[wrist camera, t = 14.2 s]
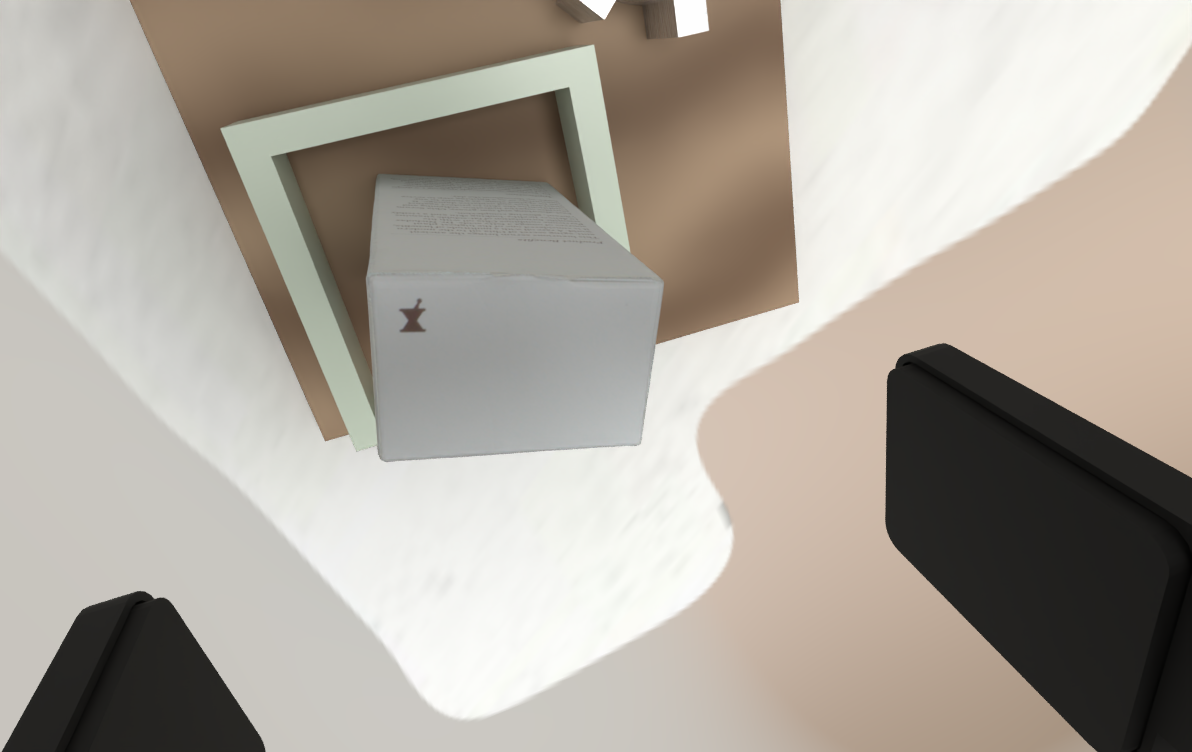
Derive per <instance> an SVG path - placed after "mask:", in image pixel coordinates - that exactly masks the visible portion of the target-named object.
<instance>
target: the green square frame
mask: <svg viewBox="0 0 1192 752" xmlns="http://www.w3.org/2000/svg"><path fill="white" fill-rule="evenodd" d="M550 91H555V96H556V101H557V105H558V110H559V115H560V120H561V125H562V130H563V135H564V140H565V144H566V149H567V154H568V159H569V164H570V169H571V174H572V179H573V183H574V188H575V193H576V198H577V203H578V208H579V210H581V211H582V212H583V213H584V214H585V215H586V216H587V217H589V218H590V219H591V220H593V221H594V222H595V223H596V224H597V225H598V226H599V227H601V228H602V229H603V230H604V231H605V232H606V233H607V234H609V235H610V236H611V237H612V238H613V239H615V240H616V241H617V242H618V243H620V244H621V245H622V246H623V247H624V248H625V249H626V250H628V251H629V252H630V247H629V241H628V235H627V230H626V224H625V218H624V212H623V207H622V201H621V195H620V190H619V184H618V178H617V173H616V167H615V161H614V156H613V150H612V144H611V138H610V133H609V127H608V121H607V116H606V110H605V104H604V99H603V93H602V87H601V82H600V76H599V70H598V64H597V59H596V53H595V47H594V45H576V46H571V47H566V48H562V49H558V50H553V51H549V52H544V53H540V54H535V55H531V56H526V57H522V58H517V59H513V60H508V61H504V62H500V63H495V64H491V65H486V66H482V67H477V68H473V69H468V70H464V71H459V72H455V73H451V74H446V75H442V76H437V77H433V78H428V79H424V80H419V81H415V82H410V83H406V84H401V85H397V86H393V87H388V88H384V89H379V90H375V91H370V92H366V93H361V94H357V95H352V96H348V97H343V98H339V99H335V100H330V101H326V102H321V103H317V104H312V105H308V106H303V107H299V108H294V109H290V110H285V111H281V112H277V113H272V114H268V115H263V116H259V117H254V118H250V119H245V120H241V121H237V122H235V123H232V124H230V125H228V126H225V127H223V128H220V129H221V132H222V134H223V136H224V139H225V141H226V143H227V146H228V148H229V151H230V153H231V155H232V158H233V160H234V162H235V165H236V167H237V169H238V172H239V174H240V177H241V179H242V181H243V184H244V186H245V188H246V191H247V193H248V196H249V198H250V200H251V203H252V205H253V207H254V210H255V212H256V215H257V217H258V219H259V222H260V224H261V226H262V229H263V231H264V233H265V236H266V238H267V241H268V243H269V245H270V248H271V250H272V252H273V255H274V257H275V260H276V262H277V264H278V267H279V269H280V271H281V274H282V276H283V279H284V281H285V283H286V286H287V288H288V290H289V293H290V295H291V297H292V300H293V302H294V305H295V307H296V309H297V312H298V314H299V316H300V319H301V321H302V324H303V326H304V328H305V331H306V333H307V335H308V338H309V340H310V343H311V345H312V347H313V350H314V352H315V354H316V357H317V359H318V362H319V364H320V366H321V369H322V371H323V373H324V376H325V378H326V380H327V383H328V385H329V388H330V390H331V392H332V395H333V397H334V399H335V402H336V404H337V407H338V409H339V411H340V414H341V416H342V418H343V421H344V423H345V426H346V428H347V430H348V433H349V435H350V437H351V440H352V442H353V444H354V447H355V449H356V452H357V451H360V450H364V449H367V448H370V447H374V446H377V433H376V418H375V403H374V388H373V377H372V375H371V372H370V369H369V367H368V364H367V362H366V359H365V357H364V354H363V351H362V349H361V346H360V344H359V341H358V338H357V336H356V333H355V331H354V328H353V325H352V323H351V320H350V318H349V315H348V312H347V310H346V307H345V305H344V302H343V300H342V297H341V294H340V292H339V289H338V287H337V284H336V281H335V279H334V276H333V274H332V271H331V268H330V266H329V263H328V261H327V258H326V256H325V253H324V250H323V248H322V245H321V243H320V240H319V237H318V235H317V232H316V230H315V227H314V224H313V222H312V219H311V217H310V214H309V211H308V209H307V206H306V204H305V201H304V199H303V196H302V193H301V191H300V188H299V186H298V183H297V180H296V178H295V175H294V173H293V170H292V167H291V165H290V162H289V160H288V157H287V155H286V153H288V152H292V151H296V150H301V149H305V148H309V147H313V146H318V145H322V144H326V143H331V142H335V141H339V140H344V139H348V138H352V137H356V136H361V135H365V134H369V133H374V132H378V131H382V130H387V129H391V128H395V127H399V126H404V125H408V124H412V123H417V122H421V121H425V120H429V119H434V118H438V117H442V116H447V115H451V114H455V113H460V112H464V111H468V110H472V109H477V108H481V107H485V106H490V105H494V104H498V103H503V102H507V101H511V100H515V99H520V98H524V97H528V96H533V95H537V94H541V93H545V92H550ZM630 253H631V252H630Z"/></svg>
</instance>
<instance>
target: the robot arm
mask: <svg viewBox="0 0 1192 752" xmlns="http://www.w3.org/2000/svg"><path fill="white" fill-rule="evenodd" d="M886 434H887V435H886V515H885V516H886V517H885V520H886V521H885V522H886V529H887V532H888V534H889V537H890V539H891V541H892V543H893V544H894V546H895V547H896V548H897V549H898V550H899V551H900V552H901V554H902V555H903V556H904V557H906V559H907V560H908V561H909V562H910V563H911V564H912V565H913V566H914V567H915V568H916V569H917V570H918V571H919V572H920V573H921V574H922V575H923V576H924V577H925V578H926V579H927V580H928V581H929V582H930V583H931V584H932V585H933V586H934V587H935V588H936V589H937V590H938V591H939V592H940V593H941V594H942V595H943V596H944V597H945V598H946V599H947V600H948V601H949V602H950V603H951V604H952V605H953V606H954V607H955V608H956V609H957V610H958V611H959V612H960V613H961V614H962V615H963V616H964V618H965V619H966V620H967V621H968V622H969V623H970V624H971V625H972V626H973V627H975V629H976V630H977V631H978V632H979V633H980V634H981V635H982V636H983V637H984V638H985V639H986V640H987V641H988V642H989V643H990V644H991V645H992V646H993V647H994V648H995V649H996V650H997V651H998V652H999V653H1000V654H1001V655H1002V656H1003V657H1004V658H1005V659H1006V660H1007V661H1008V662H1009V663H1010V664H1011V665H1012V666H1013V667H1014V668H1015V669H1016V670H1017V671H1018V672H1019V673H1020V674H1021V675H1022V677H1023V678H1025V679H1026V681H1027V682H1028V683H1029V684H1030V685H1031V686H1032V687H1033V688H1034V689H1035V690H1036V691H1038V693H1039V694H1040V695H1041V696H1042V697H1043V698H1044V699H1045V700H1046V701H1047V702H1048V703H1049V704H1050V705H1051V706H1052V707H1053V708H1054V709H1055V710H1056V711H1057V712H1058V713H1059V714H1060V715H1061V716H1062V717H1063V718H1064V719H1065V720H1066V721H1067V722H1068V723H1069V724H1070V725H1071V726H1072V727H1073V728H1074V729H1075V730H1076V731H1077V732H1078V733H1079V734H1080V735H1081V736H1082V737H1083V739H1084V740H1085V741H1087V743H1088V744H1089V745H1091V746H1092V747H1093V748H1094V749H1095V750H1096V751H1097V752H1192V478H1191V477H1189V476H1187V475H1186V474H1184V473H1182V472H1180V471H1178V470H1176V469H1175V468H1173V467H1171V466H1169V465H1167V464H1165V463H1164V462H1162V461H1160V460H1158V459H1156V458H1155V457H1153V456H1151V455H1149V454H1147V453H1145V452H1144V451H1142V450H1140V449H1138V448H1136V447H1135V446H1133V445H1131V444H1129V443H1127V442H1125V441H1124V440H1122V439H1120V438H1118V437H1116V436H1115V435H1113V434H1111V433H1109V432H1107V431H1106V430H1104V429H1102V428H1100V427H1098V426H1096V425H1095V424H1093V423H1091V422H1089V421H1087V420H1086V419H1084V418H1082V417H1080V416H1078V415H1077V414H1075V413H1072V412H1071V411H1069V410H1067V409H1066V408H1064V407H1062V406H1060V405H1058V404H1057V403H1055V402H1053V401H1051V400H1049V399H1047V398H1046V397H1044V396H1042V395H1040V394H1038V393H1037V392H1035V391H1033V390H1031V389H1029V388H1027V387H1026V386H1024V385H1022V384H1020V383H1018V382H1017V381H1015V380H1013V379H1011V378H1009V377H1007V376H1006V375H1004V374H1002V373H1000V372H998V371H996V370H995V369H993V368H991V367H989V366H987V365H986V364H984V363H982V362H980V361H978V360H976V359H975V358H973V357H971V356H969V355H967V354H966V353H964V352H962V351H960V350H958V349H957V348H955V347H953V346H951V345H948V344H944V343H943V344H937V345H934V346H930V347H927V348H924V349H921V350H917V351H914V352H911V353H908V354H904V355H903V356H901V357H900V358H899V359H898V361H897V363H896V368H895V369H893V370H892V371H890V373H889V375H888V379H887V431H886ZM2 752H265V747H264V744H263V741H262V740H261V737H260V736H259V734H258V733H257V731H256V730H255V728H254V727H253V725H252V723H251V722H250V721H249V719H248V717H247V716H246V714H245V713H244V712H243V710H242V709H241V707H240V705H239V704H238V702H237V701H236V699H235V698H234V696H233V695H232V694H231V692H230V690H229V689H228V687H227V686H226V684H225V683H224V681H223V680H222V678H221V677H220V676H219V674H218V672H217V671H216V669H215V668H214V666H213V665H212V663H211V662H210V660H209V659H208V657H207V656H206V654H205V653H204V651H203V650H202V648H201V647H200V645H199V644H198V642H197V641H196V639H195V638H194V636H193V635H192V633H191V632H190V630H189V629H188V627H187V626H186V624H185V623H184V621H183V619H182V618H181V616H180V615H179V613H178V612H177V610H176V609H175V608H174V606H173V605H172V604H171V602H170V601H169V600H167V599H165V598H157V599H154V598H153V597H152V596H151V595H150V594H148V593H146V592H143V591H137V592H134V593H131V594H127V595H124V596H121V597H118V598H114V599H112V600H108V601H105V602H101V603H98V604H95V605H92V606H89V607H87V608H85V609H83V610H82V611H81V613H79V615H78V616H77V617H76V619H75V621H74V623H73V625H72V626H71V628H70V630H69V632H68V633H67V635H66V637H65V639H64V641H63V642H62V644H61V646H60V648H59V650H58V652H57V653H56V655H55V657H54V659H53V661H52V662H51V664H50V666H49V668H48V669H47V671H46V673H45V675H44V677H43V679H42V681H41V682H40V684H39V686H38V688H37V689H36V691H35V693H34V695H33V697H32V698H31V700H30V702H29V704H28V706H27V707H26V709H25V711H24V713H23V715H22V716H21V718H20V720H19V722H18V724H17V726H16V727H15V729H14V731H13V733H12V735H11V736H10V738H9V740H8V742H7V743H6V745H5V747H4V749H3V751H2Z"/></svg>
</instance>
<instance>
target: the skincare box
mask: <svg viewBox="0 0 1192 752" xmlns="http://www.w3.org/2000/svg"><path fill="white" fill-rule="evenodd" d="M366 286H367V299H368V313H369V328H370V343H371V358H372V373H373V388H374V403H375V418H376V433H377V448H378V455H379V457H380V459H381V460H383V461H385V462H391V461H404V460H421V459H436V458H453V457H468V456H482V455H496V454H510V453H523V452H536V451H551V450H567V449H582V448H596V447H615V446H637V445H639V444H641V440H642V431H643V424H644V418H645V411H646V404H647V398H648V391H649V385H650V378H651V371H652V364H653V357H654V351H655V344H656V338H657V331H658V324H659V317H660V310H661V303H662V296H663V289H664V281H663V280H662V279H661V278H660V277H659V276H658V275H657V274H655V273H654V272H653V271H652V270H651V269H649V268H648V267H647V266H646V265H645V264H644V263H642V262H641V261H640V260H638V259H637V258H636V257H635V256H634V255H632V254H631V253H630V252H629V251H628V250H626V249H625V248H624V247H623V246H622V245H621V244H620V243H618V242H617V241H616V240H615V239H613V238H612V237H611V236H610V235H609V234H607V233H606V232H605V231H604V230H603V229H602V228H601V227H599V226H598V225H597V224H596V223H595V222H594V221H593V220H591V219H590V218H589V217H587V216H586V215H585V214H584V213H583V212H582V211H581V210H579V209H578V208H577V207H576V206H574V205H573V204H572V203H571V202H570V201H569V200H567V199H566V198H565V197H564V196H563V195H562V194H560V193H559V192H558V191H557V190H556V189H555V188H554V187H552V186H551V185H550V184H548V183H547V182H533V181H514V180H494V179H475V178H455V177H436V176H414V175H392V174H378V175H377V178H376V186H375V200H374V206H373V217H372V231H371V241H370V259H369V265H368V271H367V276H366Z"/></svg>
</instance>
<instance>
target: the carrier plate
mask: <svg viewBox="0 0 1192 752" xmlns="http://www.w3.org/2000/svg"><path fill="white" fill-rule="evenodd" d="M557 1H558V0H130V2H131V4H132V6H133V9H134V11H135V13H136V15H137V18H138V20H139V22H140V24H141V27H142V29H143V31H144V33H145V36H146V38H147V40H148V42H149V45H150V47H151V49H152V51H153V54H154V56H155V58H156V60H157V63H158V65H159V67H160V69H161V72H162V74H163V76H164V79H165V81H166V83H167V85H168V88H169V90H170V92H171V94H172V97H173V99H174V101H175V103H176V106H177V108H178V110H179V112H180V115H181V117H182V119H183V121H184V124H185V126H186V128H187V130H188V133H189V135H190V137H191V139H192V142H193V144H194V146H195V148H196V151H197V153H198V155H199V158H200V160H201V162H202V164H203V167H204V169H205V171H206V173H207V176H208V178H209V180H210V182H211V185H212V187H213V189H214V191H215V194H216V196H217V198H218V200H219V203H220V205H221V207H222V209H223V212H224V214H225V216H226V218H227V221H228V223H229V225H230V227H231V230H232V232H233V234H234V237H235V239H236V241H237V243H238V246H239V248H240V250H241V252H242V255H243V257H244V259H245V261H246V264H247V266H248V268H249V270H250V273H251V275H252V277H253V279H254V282H255V284H256V286H257V288H258V291H259V293H260V295H261V297H262V300H263V302H264V304H265V306H266V309H267V311H268V313H269V316H270V318H271V320H272V322H273V325H274V327H275V329H276V331H277V334H278V336H279V338H280V340H281V343H282V345H283V347H284V349H285V352H286V354H287V356H288V358H289V361H290V363H291V365H292V367H293V370H294V372H295V374H296V376H297V379H298V381H299V383H300V385H301V388H302V390H303V392H304V395H305V397H306V399H307V401H308V404H309V406H310V408H311V410H312V413H313V415H314V417H315V419H316V422H317V424H318V426H319V428H320V431H321V433H322V435H323V437H324V440H325V441H328V440H331V439H335V438H338V437H341V436H345V435H348V434H349V433H348V430H347V428H346V426H345V423H344V421H343V418H342V416H341V414H340V411H339V409H338V407H337V404H336V402H335V399H334V397H333V395H332V392H331V390H330V388H329V385H328V383H327V380H326V378H325V376H324V373H323V371H322V369H321V366H320V364H319V362H318V359H317V357H316V354H315V352H314V350H313V347H312V345H311V343H310V340H309V338H308V335H307V333H306V331H305V328H304V326H303V324H302V321H301V319H300V316H299V314H298V312H297V309H296V307H295V305H294V302H293V300H292V297H291V295H290V293H289V290H288V288H287V286H286V283H285V281H284V279H283V276H282V274H281V271H280V269H279V267H278V264H277V262H276V260H275V257H274V255H273V252H272V250H271V248H270V245H269V243H268V241H267V238H266V236H265V233H264V231H263V229H262V226H261V224H260V222H259V219H258V217H257V215H256V212H255V210H254V207H253V205H252V203H251V200H250V198H249V196H248V193H247V191H246V188H245V186H244V184H243V181H242V179H241V177H240V174H239V172H238V169H237V167H236V165H235V162H234V160H233V158H232V155H231V153H230V151H229V148H228V146H227V143H226V141H225V139H224V136H223V134H222V132H221V129H220V128H223V127H225V126H228V125H230V124H232V123H235V122H237V121H241V120H245V119H250V118H254V117H259V116H263V115H268V114H272V113H277V112H281V111H285V110H290V109H294V108H299V107H303V106H308V105H312V104H317V103H321V102H326V101H330V100H335V99H339V98H343V97H348V96H352V95H357V94H361V93H366V92H370V91H375V90H379V89H384V88H388V87H393V86H397V85H401V84H406V83H410V82H415V81H419V80H424V79H428V78H433V77H437V76H442V75H446V74H451V73H455V72H459V71H464V70H468V69H473V68H477V67H482V66H486V65H491V64H495V63H500V62H504V61H508V60H513V59H517V58H522V57H526V56H531V55H535V54H540V53H544V52H549V51H553V50H558V49H562V48H566V47H571V46H576V45H594V47H595V53H596V59H597V64H598V70H599V76H600V82H601V87H602V93H603V99H604V104H605V110H606V116H607V121H608V127H609V133H610V138H611V144H612V150H613V156H614V161H615V167H616V173H617V178H618V184H619V190H620V195H621V201H622V207H623V212H624V218H625V224H626V230H627V235H628V241H629V247H630V252H631V254H632V255H634V256H635V257H636V258H637V259H638V260H640V261H641V262H642V263H644V264H645V265H646V266H647V267H648V268H649V269H651V270H652V271H653V272H654V273H655V274H657V275H658V276H659V277H660V278H661V279H662V280H663V281H664V289H663V296H662V303H661V310H660V317H659V324H658V331H657V338H656V344H658V343H662V342H665V341H669V340H672V339H676V338H679V337H682V336H686V335H689V334H693V333H696V332H699V331H703V330H706V329H710V328H713V327H716V326H720V325H723V324H727V323H730V322H733V321H737V320H740V319H744V318H747V317H751V316H754V315H757V314H761V313H764V312H768V311H771V310H774V309H778V308H781V307H785V306H788V305H791V304H795V303H798V302H799V294H798V278H797V262H796V246H795V230H794V213H793V197H792V181H791V165H790V149H789V133H788V116H787V100H786V84H785V68H784V52H783V36H782V19H781V3H780V0H706V7H707V16H708V26H709V31H705V32H700V33H696V34H691V35H687V36H683V37H678V38H662V39H647V35H646V28H645V21H644V14H643V7H642V5H628V4H622V3H618V2H614V4H613V6H612V7H611V9H610V11H609V13H608V14H607V16H606V18H605V19H604V20H599V21H593V22H587V23H579V22H578V21H577V20H575V19H574V18H573V17H572V16H570V15H569V14H568V13H566V12H565V11H564V10H562V9H561V8H560V7H559V6H557V5H556V2H557ZM286 155H287V157H288V160H289V162H290V165H291V167H292V170H293V173H294V175H295V178H296V180H297V183H298V186H299V188H300V191H301V193H302V196H303V199H304V201H305V204H306V206H307V209H308V211H309V214H310V217H311V219H312V222H313V224H314V227H315V230H316V232H317V235H318V237H319V240H320V243H321V245H322V248H323V250H324V253H325V256H326V258H327V261H328V263H329V266H330V268H331V271H332V274H333V276H334V279H335V281H336V284H337V287H338V289H339V292H340V294H341V297H342V300H343V302H344V305H345V307H346V310H347V312H348V315H349V318H350V320H351V323H352V325H353V328H354V331H355V333H356V336H357V338H358V341H359V344H360V346H361V349H362V351H363V354H364V357H365V359H366V362H367V364H368V367H369V369H370V372H371V375H372V377H373V373H372V358H371V343H370V328H369V313H368V299H367V286H366V276H367V271H368V265H369V259H370V241H371V231H372V217H373V206H374V200H375V186H376V178H377V175H378V174H392V175H414V176H436V177H455V178H475V179H494V180H514V181H533V182H547V183H548V184H550V185H551V186H552V187H554V188H555V189H556V190H557V191H558V192H559V193H560V194H562V195H563V196H564V197H565V198H566V199H567V200H569V201H570V202H571V203H572V204H573V205H574V206H576V207H577V208H578V203H577V198H576V193H575V188H574V183H573V179H572V174H571V169H570V164H569V159H568V154H567V149H566V144H565V140H564V135H563V130H562V125H561V120H560V115H559V110H558V105H557V101H556V96H555V91H550V92H545V93H541V94H537V95H533V96H528V97H524V98H520V99H515V100H511V101H507V102H503V103H498V104H494V105H490V106H485V107H481V108H477V109H472V110H468V111H464V112H460V113H455V114H451V115H447V116H442V117H438V118H434V119H429V120H425V121H421V122H417V123H412V124H408V125H404V126H399V127H395V128H391V129H387V130H382V131H378V132H374V133H369V134H365V135H361V136H356V137H352V138H348V139H344V140H339V141H335V142H331V143H326V144H322V145H318V146H313V147H309V148H305V149H301V150H296V151H292V152H288V153H286ZM578 209H579V208H578Z"/></svg>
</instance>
